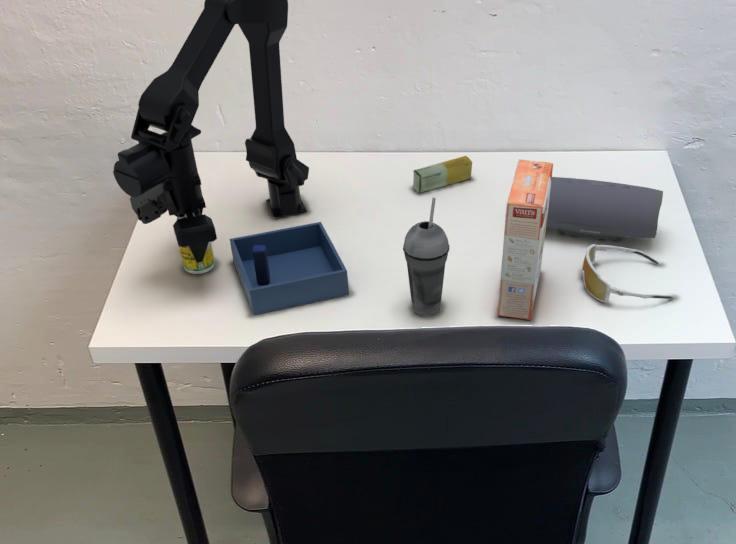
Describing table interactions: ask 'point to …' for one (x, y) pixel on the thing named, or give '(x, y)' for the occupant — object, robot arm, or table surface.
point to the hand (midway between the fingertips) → (196, 252)
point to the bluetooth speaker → (603, 209)
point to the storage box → (291, 268)
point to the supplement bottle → (191, 263)
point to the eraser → (261, 264)
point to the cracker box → (524, 238)
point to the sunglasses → (598, 285)
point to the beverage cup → (426, 264)
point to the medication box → (442, 174)
